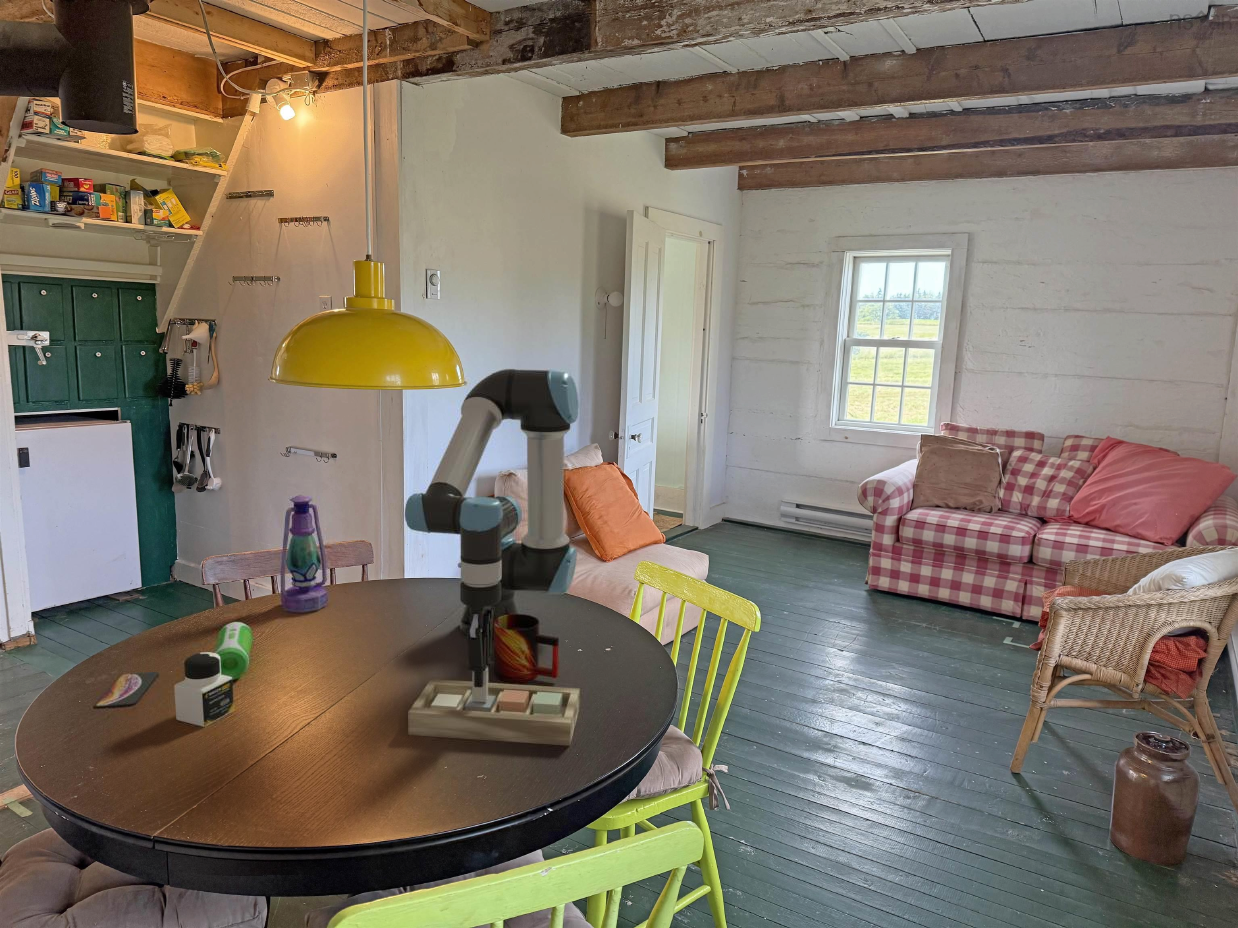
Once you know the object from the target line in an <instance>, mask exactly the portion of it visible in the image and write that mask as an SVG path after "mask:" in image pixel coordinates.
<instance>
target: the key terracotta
mask: <svg viewBox="0 0 1238 928" xmlns="http://www.w3.org/2000/svg"><path fill="white" fill-rule="evenodd" d="M528 702H529V691H517V690H504V692H503V694H502V696H501V698H500V700H499V711H507V712H522V713H524V712H525V709H526V707H527V704H528Z"/></svg>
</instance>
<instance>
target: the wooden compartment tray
mask: <svg viewBox="0 0 1238 928" xmlns="http://www.w3.org/2000/svg"><path fill="white" fill-rule="evenodd" d="M504 690H517V691H529V702H528V704H527V707H526V709H525V712H524V713H522V712H507V711H499V700H500V698H501V696H502V694H503V692H504ZM537 692H549V693H562V705H561V708H560V712H559V715H553V714H538V713H533V703H534V700H535V697H536V695H537ZM580 692H581V688H576V687H559V686H546V685H545V686H544V685H530V684H529V685H527V684H508V683H497V682H495V683H494V682H488V696H496V702H495V704H494V706H493V708H492V710H491V712H480V711H465V705H466V703H467V701H468V699H469V698H470V696H471V694H472V681H468V680H467V681H465V680H451V679H448V680H447V679H435V678H434V679H432V678H431V679H430V680H429V681H428V683H427V684H426V686H425V687H424V688H423V690H422V692H421V693H420V695H419V696H418V697H417V699H416V700H415V701H414V702H413V704H412V706H411V708H410V709H409V710H408V712H407V713H408V715H407V716H408V717H407V720H408V725H407V727H408V730H407V731H408V735H409V736H419V737H434V738H435V737H437V738H452V739H465V740H466V739H467V740H479V741H492V742H493V741H497V742H509V743H510V742H512V743H523V744H524V743H525V744H526V743H527V744H540V745H552V746H553V745H554V746H567V747H570V746H571V744H572V739H573V735H574V732H575V727H576V724H577V719H578V716H579V712H580V696H581V695H580ZM438 694H451V695H463V699H462V701H461V703H460V704H459V706H458V708H457V710H449V709H434V708H431V704H432V703H433V701H434V700H435V698H436V697H437V695H438Z"/></svg>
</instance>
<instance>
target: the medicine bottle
mask: <svg viewBox="0 0 1238 928" xmlns="http://www.w3.org/2000/svg"><path fill="white" fill-rule="evenodd" d="M183 663H184V664H183V665H184V680H182V681H180V682H177V683H176V684H174V702H175V704H174V705H175V718H176V720H177V721H180V722H184V723H186V724H187V723H188V724H192V725H195V726H197V727H198V726H199V727H203V728H206V727H208V726H209V725H211V724H213V723H215V722H217V721H218V720H220V719H222V718H224V717H226V716H228V715H230V714H231V713H233V712H234V711H235V703H234V702H235V701H234V685H233V681H234V680H232V677H230V676H225V675H221V662H220V656H219V655H218V654H216V653H214V652H210V651H209V652H207V651H204V652H199V653H195V654H192V655H190V656H188V657H187V658H186V659H185V660H184V662H183Z"/></svg>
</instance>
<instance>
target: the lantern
mask: <svg viewBox="0 0 1238 928" xmlns="http://www.w3.org/2000/svg"><path fill="white" fill-rule="evenodd" d="M289 501H291V502H292V503H293V507H288V508H287V509H286V512H285V516H284V517H285V518H284V529H283V538H282V552H281V553H282V554H281V563H280V600H281V605H282V607H283V609H284V610H285V611H286V612H291V613H298V614H303V613H308V612H314V611H316V612H317V611H318V610H320V609H323V607H325V606H326V605H328V600H329V594H328V591H327V589H326V588H325V587H324V585H326V583H327V580H328V577H327V575H328V574H327V573H328V572H327V559H326V551H325V545H324V540H323V536H322V531H321V530H322V529H321V527H320V520H319V519H320V518H319V511H318V507H317V505H316V504H313V503H310V502H312V501H313V498H312V497H310V496H307V495H304V494H297V496H294V497H292V498H289ZM310 509H312V512H313V516H312V513H311V512H310ZM292 512H293V513H292ZM290 519H291V520H290ZM313 519H314V525H315V527H314V526H313ZM290 521H291V523H290ZM290 524H291V526H290ZM315 532H316V536H317V540H318V545H317V541H316V540H315V538H314V535H313V534H314V533H315ZM289 534H291V535H292V536H291V538H290V541H289V537H290V536H289ZM288 543H289V544H288ZM318 547H319V550H320V551H319V550H318ZM319 552H320V553H319ZM320 567H321V572H322V573H321V574H322V579H321V581H319V582H317V581H316V580H317V576H316V575H317V573H318V571H319V569H320ZM286 568H287V570H288V571H289V573H290V574H291V576H292V577H291V580H292V581H291V587H287V588H286V579H285V578H286V575H285V574H286Z"/></svg>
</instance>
